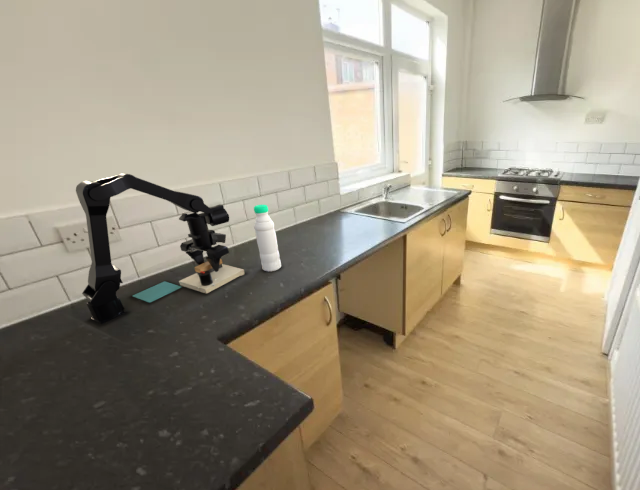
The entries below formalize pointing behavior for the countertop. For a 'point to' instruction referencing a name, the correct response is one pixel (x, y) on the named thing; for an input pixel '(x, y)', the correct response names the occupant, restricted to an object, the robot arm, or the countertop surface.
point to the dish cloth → (156, 291)
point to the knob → (205, 278)
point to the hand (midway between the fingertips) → (210, 269)
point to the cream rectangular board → (218, 279)
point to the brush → (206, 267)
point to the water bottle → (266, 239)
